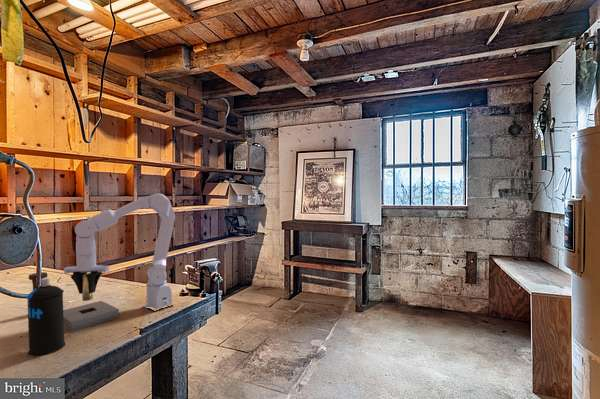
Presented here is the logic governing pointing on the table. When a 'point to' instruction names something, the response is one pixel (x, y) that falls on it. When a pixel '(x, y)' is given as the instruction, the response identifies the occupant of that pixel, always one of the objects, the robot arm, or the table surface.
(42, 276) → the bolt
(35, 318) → the aerosol can
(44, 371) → the table surface
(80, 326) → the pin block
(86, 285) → the brass pin
